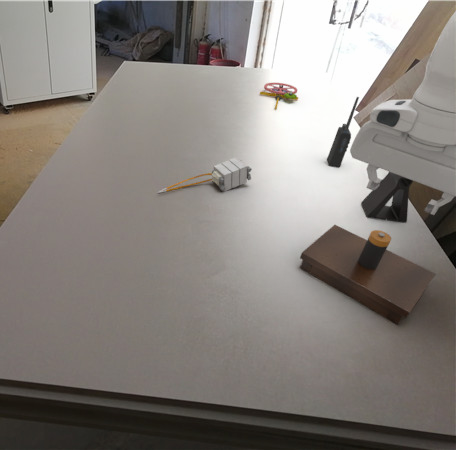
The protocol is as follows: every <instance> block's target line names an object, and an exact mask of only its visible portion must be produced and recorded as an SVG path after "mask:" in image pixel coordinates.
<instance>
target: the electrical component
mask: <svg viewBox="0 0 456 450" xmlns="http://www.w3.org/2000/svg"><path fill="white" fill-rule="evenodd" d="M252 170H253V169H252V167H250V166H249V165H246V164H245V163H244V162H242V160H240V159H239V158H238V157H233V158H230V159H228V160H225V161H222V162H220V163H217V164H215V165H213V170H212V171H211V172H207V173H203V174H199V175H196V176H193V177H189V178H186V179H183V180H182V181H179V182H177V183H174V184H172V185H170V186H166V187H165V188H162V189H161V190H159V191H157V194H160V193H166V192H171V191H175V190H178V189H179V190H180V189H184V188H186V187H191V186H195V185H199V184H203V183H207V182H212V183H215V184H216V185H217V186H218V188H219V189H220V190H221V191H224V192H226V191H229V190H231V189H234V188H237V187H238V186H241V185H243V184H247V182H248V181H250V180H252V175H251V171H252ZM204 176H212V177H211V178H208V179H206V180H205V179H204V180H200V181H197V182H193V183H189V184H185V185H181V184H183V183H185V182H187V181H191V180H193V179H196V178H197V179H198V178H200V177H204ZM178 185H181V186H178ZM175 186H177V187H175Z"/></svg>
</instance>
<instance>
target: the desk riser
mask: <svg viewBox="0 0 456 450" xmlns="http://www.w3.org/2000/svg"><path fill="white" fill-rule="evenodd" d="M367 240H368V239H365V238H364V237H361V236H359V235H357V234H355V233H353V232H351V231H349V230H347V229H345V228H343V227H341V226H339V225H337V224H334V225H332V226H331V227H330V228H328V229H327V231H325V232H324V233H323V234H322V235H320V236H319V237H318V238H317V239H316V240H315V241H314V242H312V243H311V244H310V245H309V246H308V247H306V248H305V249H304V250H303V251H302V252H301V254H300V256H299V259H300V260H301V261H302V262H301V264H300V267H299V268H300V269H301V270H303V271H305V272H306V273H308V274H310V275H312V276H313V275H314V276H313V277H315V278H317V279H318V278H319V279H318V280H320V281H322V282H323V283H325V284H327V285H328V286H331V287H332V288H334V289H336V290H337V291H339V292H340V293H342V294H344V295H346V296H348V297H349V298H351V299H353V300H354V301H356V302H358V303H360V304H361V305H363V306H365V307H366V308H368V309H370V310H372V311H374V312H375V313H377V314H378V315H381V316H383V317H384V318H386V319H387V320H389V321H391V322H393V323H394V324H396V325H399V324H400V322H401V321H402V319H403V318H405V319H408V318H407V317H408V316H409V315H410V313H411V312H412V310H413V309H414V308H415V306H416V305H417V303H418V302H419V300H420V299H421V297H422V295H424V293H425V291H426V290H427V288H428V287H429V286H430V284H431V282H432V281H433V279H434V278H435V276H436V275H437V274H436V273H435V272H433V271H432V270H429V269H427V268H425V267H423V266H421V265H419V264H417V263H414V262H413V261H411V260H408V259H406V258H404V257H403V256H401V255H398V254H397V253H395V252H392V251H391V250H388V249H386V251H385V253H384V255H383V256H382V258H381V260H380V262H379V264H378V266H377V268H375V269H368V268H365V267H363V266H362V265H360V264H359V262H358V259H359V257H360V255H361V253H362V250H363V248H364V246H365V244H366V242H367Z"/></svg>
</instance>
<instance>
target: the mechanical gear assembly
mask: <svg viewBox="0 0 456 450" xmlns="http://www.w3.org/2000/svg"><path fill="white" fill-rule="evenodd" d="M268 86H269V87H268ZM263 88H264V90H265V91H260V92H259V95H261V96H269V97H274V98H275V101H276V102H275V105H274V109H275V110H277V108H278V104H279V101H281V99H288V100H294V101H295V100H296V101H298V100H299V96H297V93H298V88H297V87H295V85H294V86H293V85H292V84H288V83H284V82H267V83H265V84H264V86H263ZM293 90H294V91H293Z"/></svg>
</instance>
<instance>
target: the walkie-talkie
mask: <svg viewBox="0 0 456 450" xmlns="http://www.w3.org/2000/svg"><path fill="white" fill-rule="evenodd" d="M359 98H360V97H359V96H356V98H355V100H354V103H353V106H352V109H351V111H350V114H349V116H348V119H347V122H346V123H342V125H341V126H339V127H338V128H337V131H336V133H335V135H334V136H335V137H334V139H333V142H332V145H331V147H330V150H329V153H328V156H327V158H326V162H327V165H328V166H329V167H334V168H340V167H341V165H342V163H343V161H344V158H345V156H346V155H345V154H346V153H347V151H348V148H349V144H350V143H351V142H350V141H351V139H352V133H351V131H350V129H349V128H350V125H351V123H352V118H353V116H354V113H355V111H356V108H357V105H358V101H359Z"/></svg>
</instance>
